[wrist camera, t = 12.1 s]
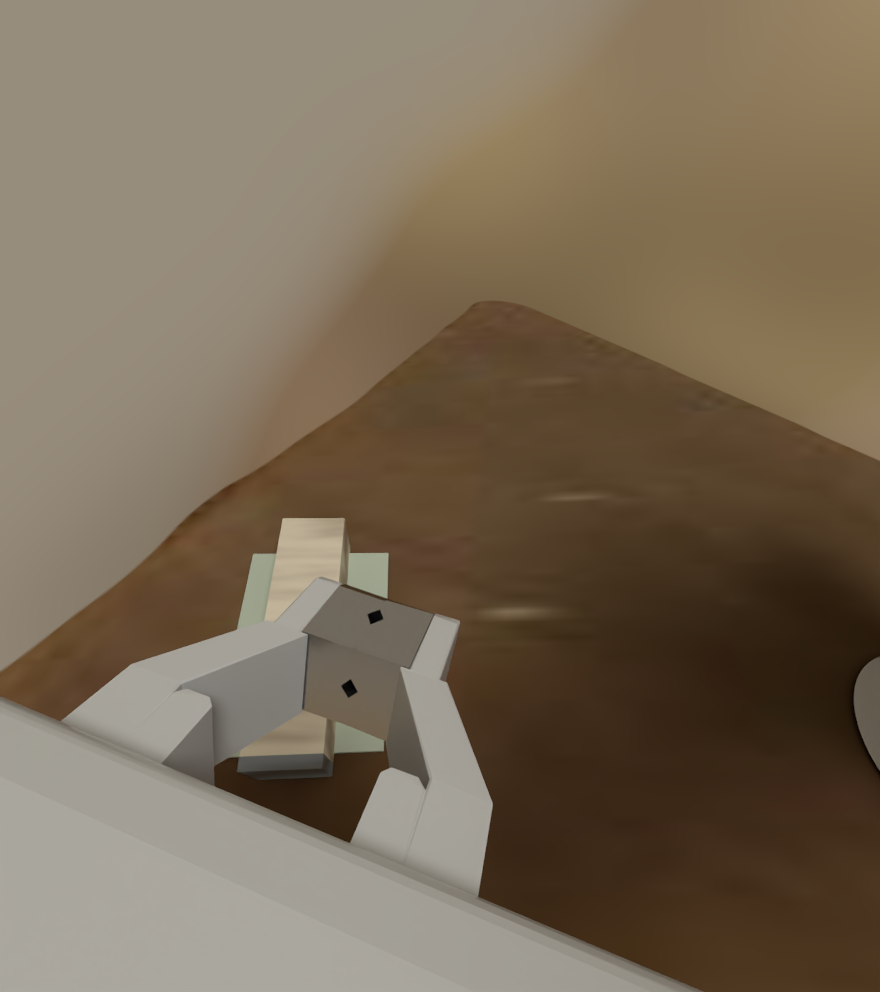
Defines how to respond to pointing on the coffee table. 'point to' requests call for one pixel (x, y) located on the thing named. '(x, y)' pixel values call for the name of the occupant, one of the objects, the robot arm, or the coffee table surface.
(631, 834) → the coffee table surface
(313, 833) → the robot arm
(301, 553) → the maple block
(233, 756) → the sage mat
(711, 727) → the coffee table surface
